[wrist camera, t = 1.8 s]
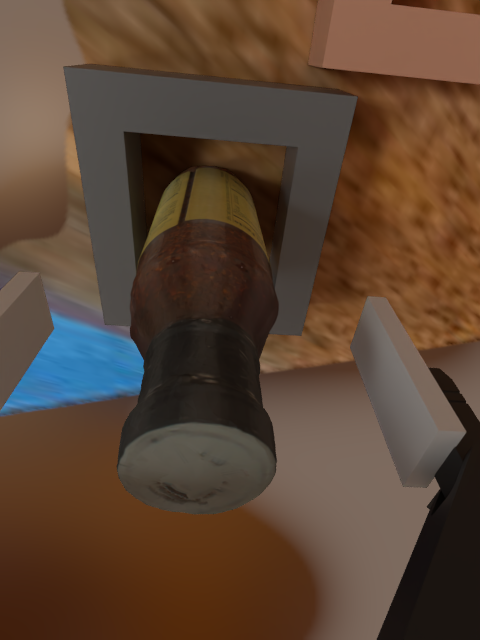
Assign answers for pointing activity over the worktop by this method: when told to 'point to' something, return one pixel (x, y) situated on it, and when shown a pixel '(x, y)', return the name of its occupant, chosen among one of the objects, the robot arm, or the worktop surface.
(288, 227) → the holder
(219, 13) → the worktop surface
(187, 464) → the sauce bottle
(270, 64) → the worktop surface
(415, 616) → the robot arm
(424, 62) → the holder
